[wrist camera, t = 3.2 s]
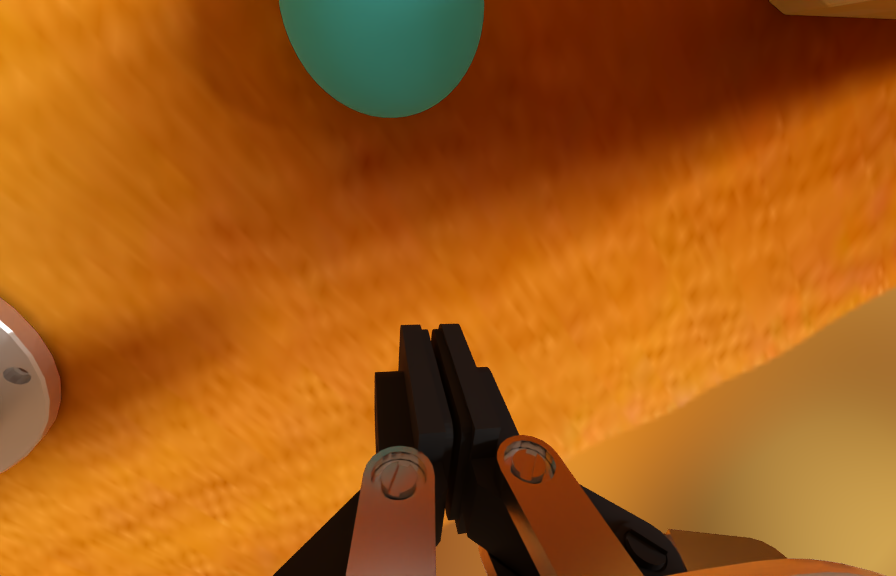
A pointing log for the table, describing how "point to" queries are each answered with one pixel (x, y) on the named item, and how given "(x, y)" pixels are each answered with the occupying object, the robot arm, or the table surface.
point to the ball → (385, 49)
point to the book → (838, 8)
